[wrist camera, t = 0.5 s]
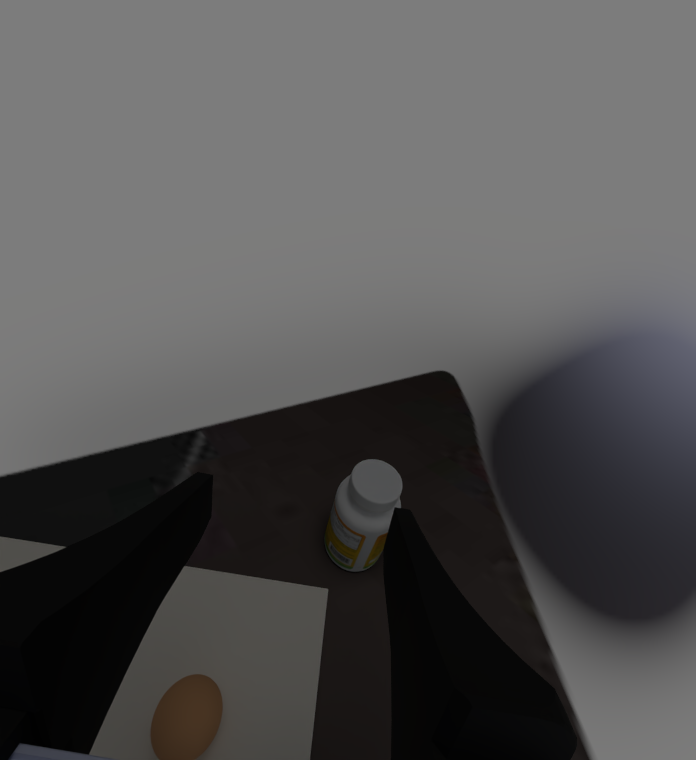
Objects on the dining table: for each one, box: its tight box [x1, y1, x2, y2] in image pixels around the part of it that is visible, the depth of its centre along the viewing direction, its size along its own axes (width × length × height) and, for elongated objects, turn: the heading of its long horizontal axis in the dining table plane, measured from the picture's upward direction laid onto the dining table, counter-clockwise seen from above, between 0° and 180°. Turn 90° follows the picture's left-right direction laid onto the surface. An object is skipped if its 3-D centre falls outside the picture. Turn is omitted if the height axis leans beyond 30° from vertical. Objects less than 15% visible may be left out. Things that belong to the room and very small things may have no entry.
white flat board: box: [0, 537, 328, 760], centre depth 20 cm, size 26×16×2 cm, turn 86°
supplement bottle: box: [324, 459, 402, 572], centre depth 29 cm, size 5×5×10 cm
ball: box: [150, 674, 223, 760], centre depth 18 cm, size 4×4×4 cm
